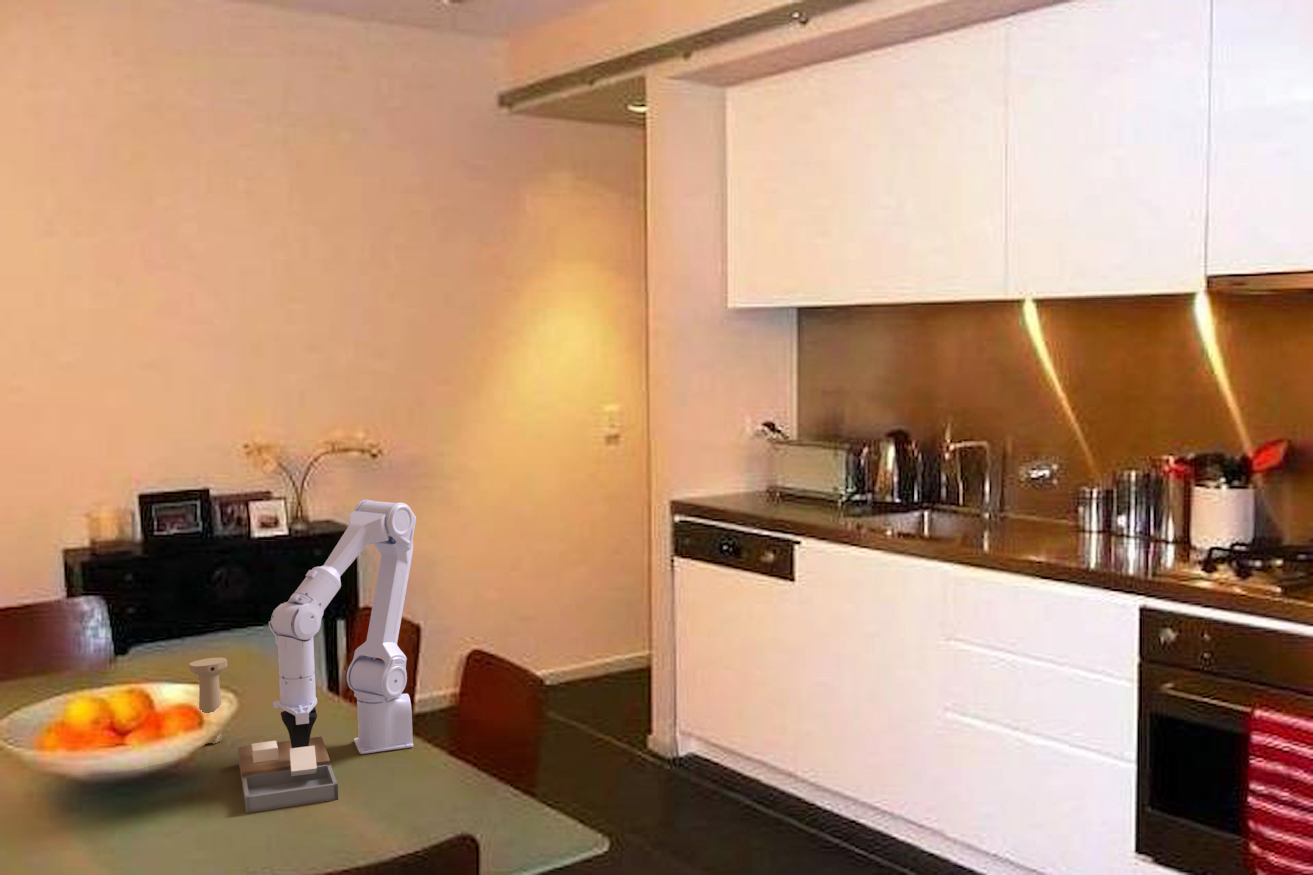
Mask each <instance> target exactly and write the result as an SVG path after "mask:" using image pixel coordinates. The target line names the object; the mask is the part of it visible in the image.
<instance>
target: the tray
mask: <svg viewBox="0 0 1313 875" xmlns="http://www.w3.org/2000/svg"><path fill="white" fill-rule="evenodd" d="M242 783H243V788H242V794H243V800H244V807H245V808H244V809H245V814H249V813H258V812H263V811H271V810H276V809H284V808H289V807H296V806H302V805H303V806H304V805H309V804H310V805H311V804H315V803H322V802H329V801H337V800H339V788H338V787H339V786H338V784H339V783H338V781H337V778H336V776H335V773H334V770H333V768H332V764H331V763H330V764H326V765H319V766H317V771H316V773H313V774H306V775H298V776H291V770H284V771H276V772H269V773H262V774H255V775H248V776H242V781H241V784H242Z"/></svg>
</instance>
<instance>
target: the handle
mask: <svg viewBox="0 0 1313 875" xmlns="http://www.w3.org/2000/svg"><path fill="white" fill-rule="evenodd" d="M188 665H189V666H188V667H189V671H190V672H191V673H193V674H195V675H197V676H198V680H199V682H198V684H199V689H198V690H199V692H198V694H199V695H198V696H199V697H198V698H199V700H198V710H199V709H200V710H202V712H204V713H210V712H214V711H215V710H216V709H217V708H219V706H220V705H221V703H222V696H221V690H220V689H221V686H220V673H221V672H223V670H225V669H226V668H227V667H228V660H227V658H226V657H209V658H203V659H199V660H194V661H192V662H189V664H188ZM222 731H223V730H222ZM222 731H221V732H220V733H219V734H218V736H217V738H215V740H213V743H214V742H215V743H216V744H217V743H220V742H221V741H222V738H223V734H222Z"/></svg>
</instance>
